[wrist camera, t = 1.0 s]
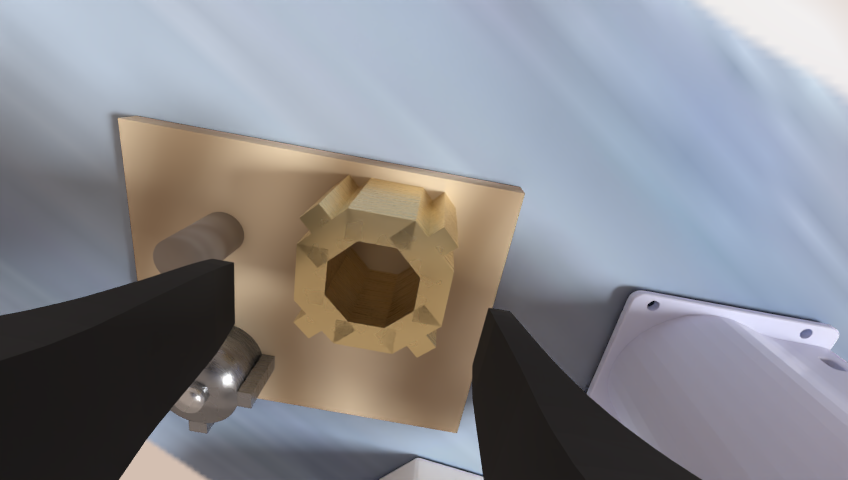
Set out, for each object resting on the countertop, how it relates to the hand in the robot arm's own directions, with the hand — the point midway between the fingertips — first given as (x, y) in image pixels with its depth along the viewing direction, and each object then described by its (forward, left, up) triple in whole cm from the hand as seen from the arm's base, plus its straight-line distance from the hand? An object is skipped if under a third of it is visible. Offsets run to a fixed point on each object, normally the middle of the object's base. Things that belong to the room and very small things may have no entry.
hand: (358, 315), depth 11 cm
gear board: (+3, +4, -7) cm, 8 cm away
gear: (+7, +8, -6) cm, 12 cm away
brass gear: (0, 0, -6) cm, 6 cm away
